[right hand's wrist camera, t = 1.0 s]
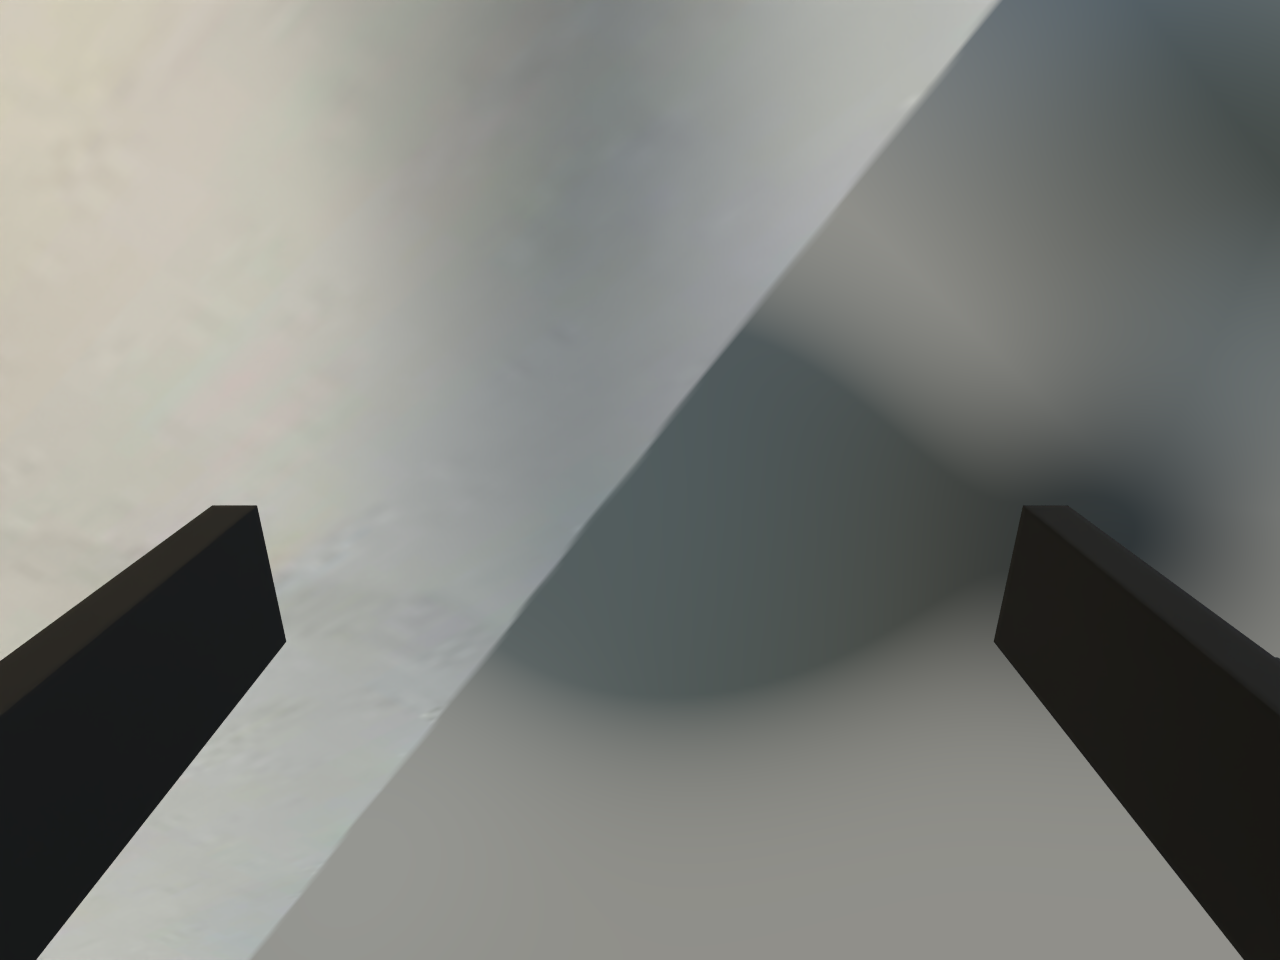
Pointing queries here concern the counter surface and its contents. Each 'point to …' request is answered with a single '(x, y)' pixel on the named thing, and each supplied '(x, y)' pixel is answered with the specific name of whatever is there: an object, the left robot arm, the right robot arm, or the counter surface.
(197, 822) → the counter surface
